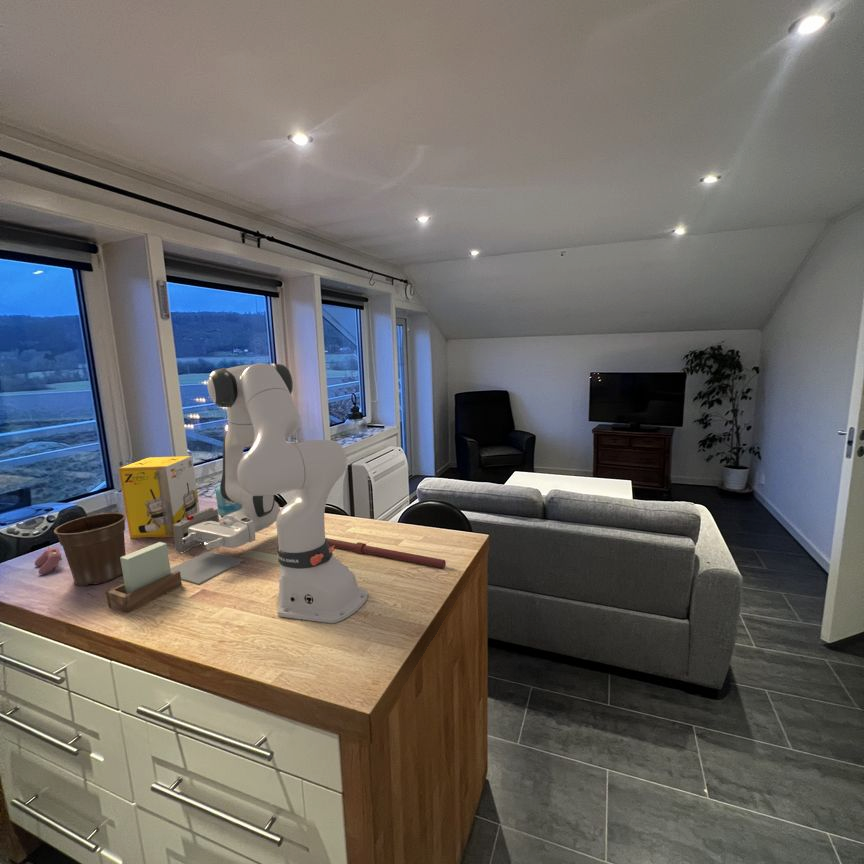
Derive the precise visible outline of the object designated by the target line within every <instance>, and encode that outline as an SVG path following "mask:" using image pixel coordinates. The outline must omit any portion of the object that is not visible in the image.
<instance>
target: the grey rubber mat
mask: <svg viewBox="0 0 864 864" xmlns="http://www.w3.org/2000/svg"><path fill="white" fill-rule="evenodd" d="M242 561H243V562H245V559H242V558H237V557H233V556H229V555H225V554H221V553H216V552H212V551H210V550H208V551H205V552H203V553H201V554H199V555H197V556H194V557H192V558H190V559H188V560H186V561H184V562H181V563H179V564H177V565H175V566H173V567H170V570H171V573H173V572H175V571H180V575H181V581H185V582H188V583H191V582H192V583H191V584H196V585H198V584H199V585H202V584H203V583H205V582H207V581H209V580H211V579H213V578H214V576H215V577H216V575H217V576H218V575H220V574H223V573H225V572H226V571H228V570H230V569H232V568H233V566H234V567H235V565H236V566H237V564H238V563H239V564H241V563H243V562H242ZM240 562H241V563H240ZM239 564H238V565H239ZM231 567H232V568H231ZM229 568H230V569H229ZM212 577H213V578H212ZM210 578H211V579H210ZM208 579H209V580H208ZM206 580H207V581H206ZM204 581H205V582H204ZM202 582H203V583H202Z"/></svg>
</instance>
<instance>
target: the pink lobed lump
mask: <svg viewBox="0 0 864 864" xmlns="http://www.w3.org/2000/svg"><path fill="white" fill-rule="evenodd" d="M62 561H63V556H62V553H61V550H60V548H59V546H51V547H50V546H48V548H46V549H45V550H44V552H43V553H42V554H41V555H40V556H39V557H38V558H37V559H36V560H35V562H34V566H35V567H40V568H39V569H38V574H39V575H41V574H43V575H46V574H47V573H50V572H51V571H52V570H53V568H54V569H56V567H57V565H58V564H60V562H62Z"/></svg>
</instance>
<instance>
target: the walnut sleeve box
mask: <svg viewBox="0 0 864 864" xmlns="http://www.w3.org/2000/svg"><path fill="white" fill-rule="evenodd" d="M182 581H183V580H181V575H180V571H175V572H173V573H171V574H169V575H167V576H165V577H163V578H161V579H158V580H156V581H154V582H152V583H150V584H148V585H146V586H143V587H141V588H139V589H137V590H135V591H133V592H131V593H129V594H126V589H125V583H122V584H119V585H117V586H115V587H112V588H110V589H108V590H106V591H105V595H106V600H107V605H108V607H109V608H112V609H115V610H118V611H121V612H123V613H126V614H128V613H130V612H133V611H134V610H136V609H138V608H139V607H143V606H144V605H145V603H146V604H148V603H150V602H152V601H154V600H155V598H156V599H157V597H158V598H160V597H162V596H164V595H166V594H168V593H170V592H172V591H173V590H175V589H178V588H179V587H181V586H183V582H182ZM177 587H178V588H177ZM167 592H168V593H167ZM163 594H164V595H163ZM161 595H162V596H161ZM159 596H160V597H159ZM153 599H154V600H153ZM151 600H152V601H151ZM149 601H150V602H149ZM147 602H148V603H147Z"/></svg>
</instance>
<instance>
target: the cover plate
mask: <svg viewBox="0 0 864 864" xmlns="http://www.w3.org/2000/svg"><path fill="white" fill-rule="evenodd" d="M167 545H168V544H167V543H165V542H162V541H158V542H156V543H154V544H150V545H148V546H146V547H143V548H140V549H138V550H135V551H133V552H130V553H127V554H126V555H125V556H123V557H120V560H121V566H122V572H123V574H122V576H123V582H124V583H125V589H126V594H129V593H131V592H133V591H135V590H137V589H139V588H141V587H143V586H146V585H148V584H150V583H152V582H154V581H156V580H158V579H161V578H163V577H165V576H167V575H169V574H171V570H170V568H171V564H170V557H169V549H168V546H167Z"/></svg>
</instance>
